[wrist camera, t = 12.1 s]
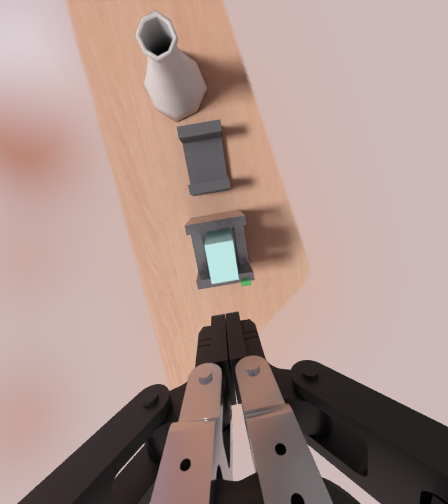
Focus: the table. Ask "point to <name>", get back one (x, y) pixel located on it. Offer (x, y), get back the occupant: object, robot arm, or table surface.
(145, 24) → the flask
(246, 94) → the table surface
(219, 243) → the plug
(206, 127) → the grey ridged tray
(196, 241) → the port
